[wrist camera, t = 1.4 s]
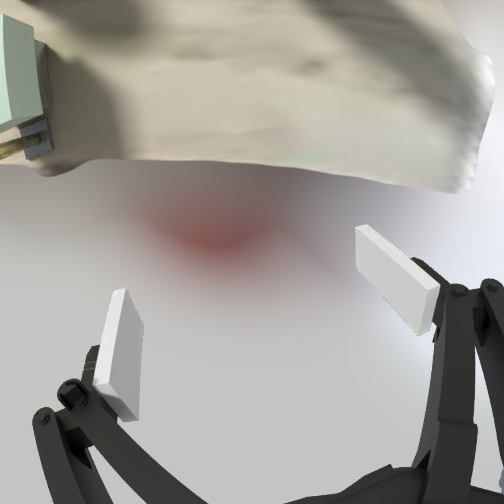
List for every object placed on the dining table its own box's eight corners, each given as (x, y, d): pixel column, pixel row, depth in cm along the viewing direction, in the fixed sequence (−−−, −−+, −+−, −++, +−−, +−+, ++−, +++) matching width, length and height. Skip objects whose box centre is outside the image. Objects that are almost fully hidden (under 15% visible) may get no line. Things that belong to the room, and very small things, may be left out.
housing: (5, 62, 26) (-16, 59, 21) (45, 43, 27) (27, 36, 22) (21, 161, 34) (2, 171, 29) (60, 146, 35) (44, 153, 30)
